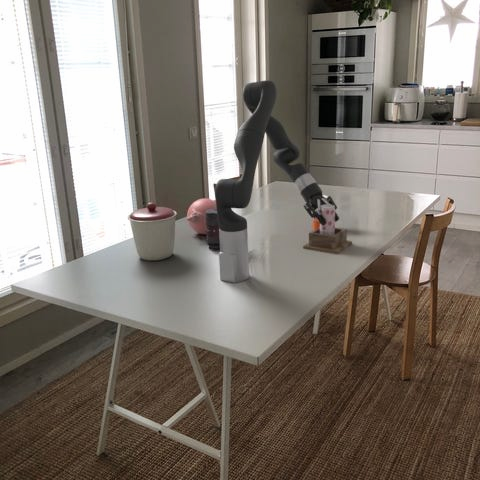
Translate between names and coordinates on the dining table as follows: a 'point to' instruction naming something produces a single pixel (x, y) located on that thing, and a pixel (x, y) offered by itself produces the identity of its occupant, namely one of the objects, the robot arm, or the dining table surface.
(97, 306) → the dining table surface
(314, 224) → the paper cup
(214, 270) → the dining table surface
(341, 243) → the can socket
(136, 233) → the canister
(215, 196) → the robot arm
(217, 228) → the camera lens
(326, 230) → the beverage can
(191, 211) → the pink piggy bank
